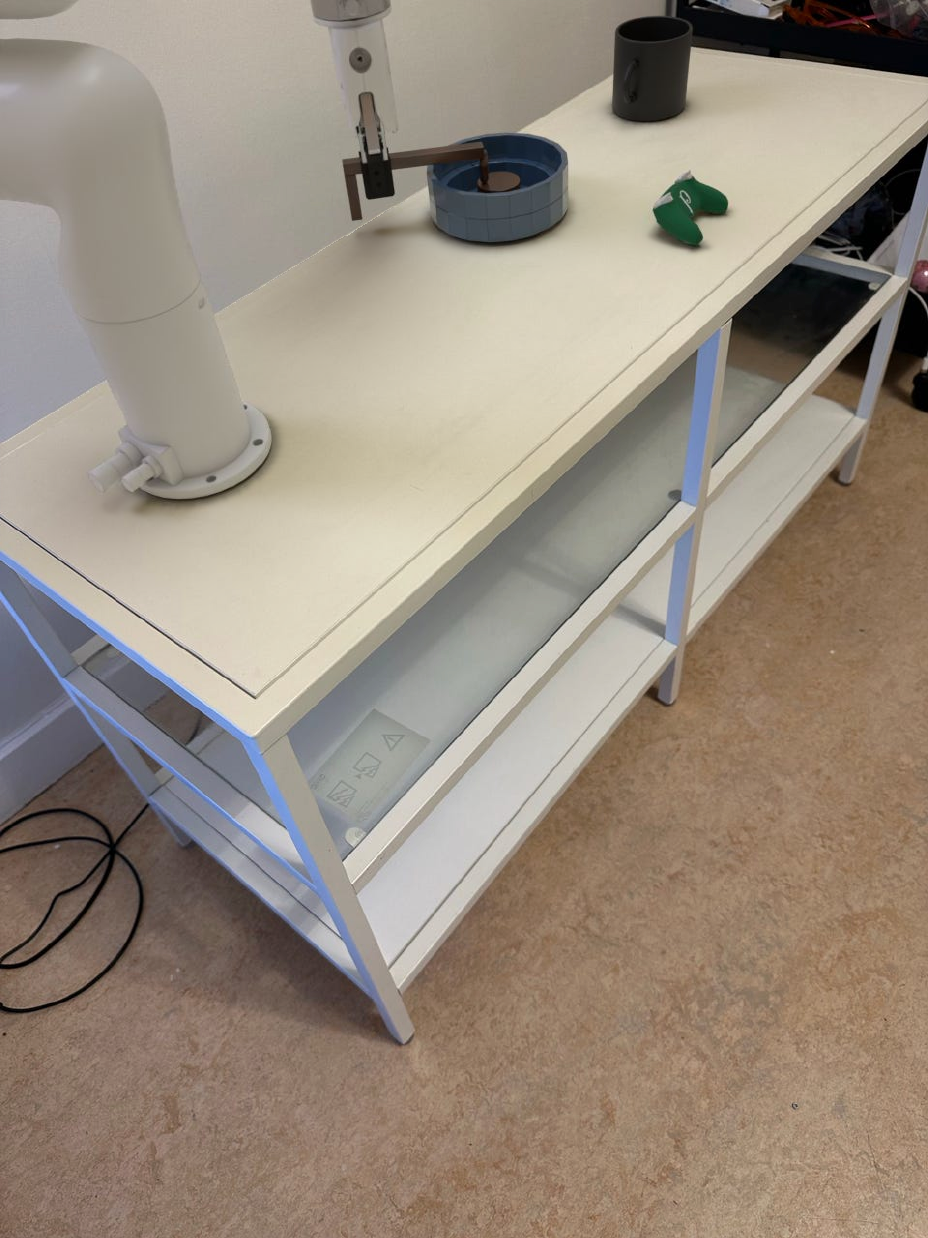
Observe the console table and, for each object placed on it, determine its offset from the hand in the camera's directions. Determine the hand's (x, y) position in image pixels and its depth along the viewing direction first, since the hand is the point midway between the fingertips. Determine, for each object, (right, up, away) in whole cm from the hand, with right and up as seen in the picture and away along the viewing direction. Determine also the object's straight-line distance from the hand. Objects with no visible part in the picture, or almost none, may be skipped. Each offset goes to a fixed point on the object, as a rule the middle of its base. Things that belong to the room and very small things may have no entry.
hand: (379, 190), depth 99 cm
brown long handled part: (+6, -1, +2) cm, 7 cm away
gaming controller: (+33, -5, -2) cm, 34 cm away
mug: (+33, +19, +18) cm, 42 cm away
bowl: (+13, -1, +4) cm, 14 cm away
